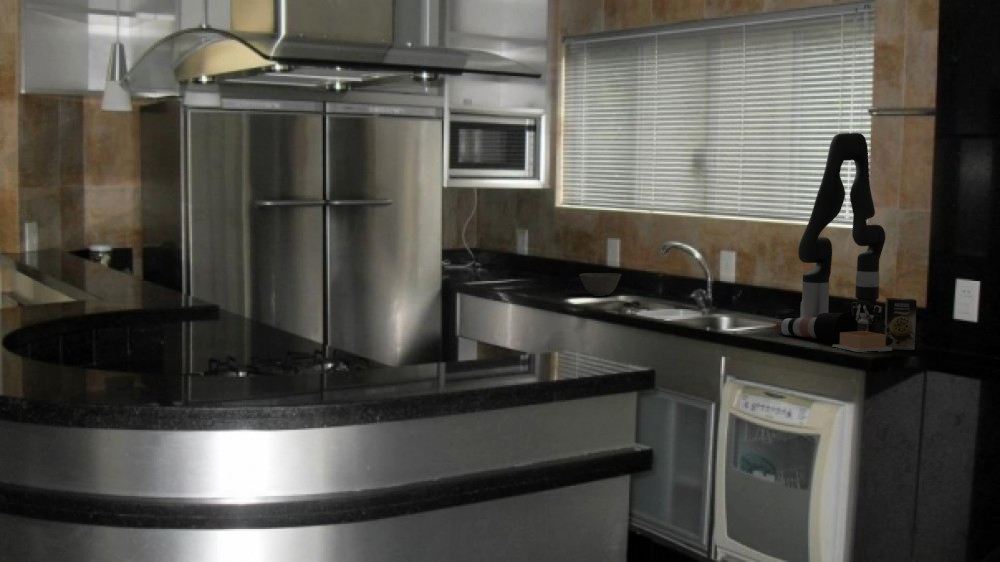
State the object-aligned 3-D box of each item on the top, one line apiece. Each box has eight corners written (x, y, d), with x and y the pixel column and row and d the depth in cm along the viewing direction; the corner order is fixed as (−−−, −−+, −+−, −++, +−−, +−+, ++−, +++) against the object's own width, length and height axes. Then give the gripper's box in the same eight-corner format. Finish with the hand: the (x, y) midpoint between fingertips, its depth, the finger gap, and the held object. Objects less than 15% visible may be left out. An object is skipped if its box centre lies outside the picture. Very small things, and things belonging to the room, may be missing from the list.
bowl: (622, 294, 549) (623, 272, 548) (619, 299, 530) (619, 276, 529) (582, 293, 552) (582, 272, 551) (576, 298, 534) (577, 275, 533)
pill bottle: (868, 343, 399) (869, 314, 398) (854, 342, 403) (854, 313, 402) (877, 342, 403) (878, 313, 402) (862, 340, 407) (863, 311, 406)
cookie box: (885, 349, 388) (887, 299, 386) (883, 346, 394) (885, 297, 392) (915, 350, 386) (917, 300, 384) (912, 347, 392) (914, 298, 391)
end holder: (832, 347, 391) (832, 332, 390) (867, 345, 396) (868, 330, 395) (856, 352, 379) (856, 337, 379) (892, 350, 385) (892, 335, 384)
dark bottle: (782, 345, 426) (791, 319, 428) (852, 348, 396) (861, 320, 398) (762, 334, 421) (771, 308, 423) (831, 336, 392) (840, 307, 394)
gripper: (891, 286, 396) (889, 337, 397) (862, 282, 409) (861, 331, 411) (872, 287, 393) (870, 338, 395) (844, 283, 406) (842, 332, 408)
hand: (865, 334), depth 403 cm, fingers closed on pill bottle, 5 cm apart
